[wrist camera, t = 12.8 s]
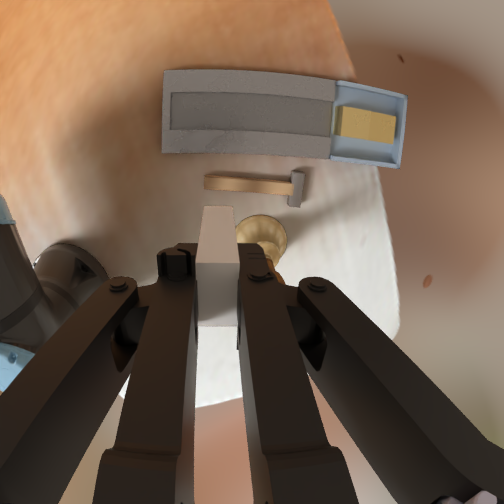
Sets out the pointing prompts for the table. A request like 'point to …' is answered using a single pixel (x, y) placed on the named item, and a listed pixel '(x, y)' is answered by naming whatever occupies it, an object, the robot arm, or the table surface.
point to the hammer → (261, 186)
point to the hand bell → (264, 238)
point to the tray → (361, 148)
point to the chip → (382, 128)
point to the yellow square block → (351, 122)
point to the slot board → (246, 113)
